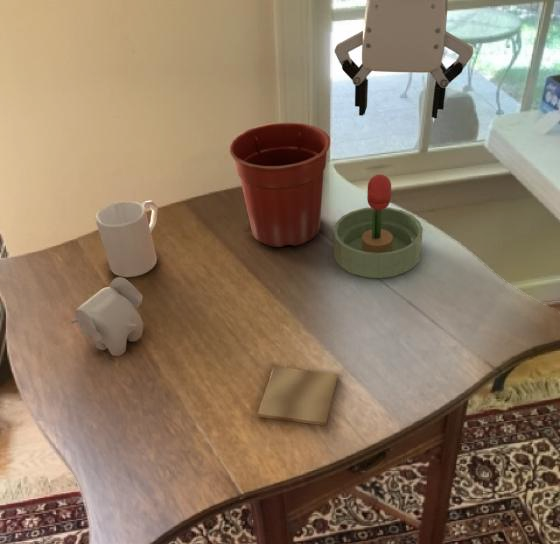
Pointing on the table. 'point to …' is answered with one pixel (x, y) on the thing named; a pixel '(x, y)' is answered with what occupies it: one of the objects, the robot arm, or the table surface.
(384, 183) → the tulip
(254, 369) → the table surface
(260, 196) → the flower pot
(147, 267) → the mug
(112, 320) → the elephant figurine
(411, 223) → the bowl
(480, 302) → the table surface
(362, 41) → the robot arm
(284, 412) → the coaster
